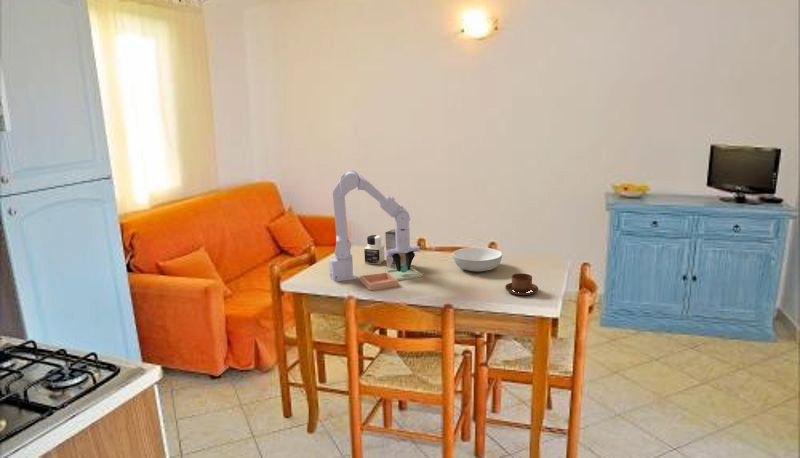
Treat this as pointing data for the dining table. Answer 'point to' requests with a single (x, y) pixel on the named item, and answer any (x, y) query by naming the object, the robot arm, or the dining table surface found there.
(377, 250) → the medicine bottle
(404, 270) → the ball
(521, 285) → the cup and saucer
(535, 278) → the dining table surface
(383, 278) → the dish
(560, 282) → the dining table surface
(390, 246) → the coffee box
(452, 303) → the dining table surface
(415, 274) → the tray
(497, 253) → the serving bowl
